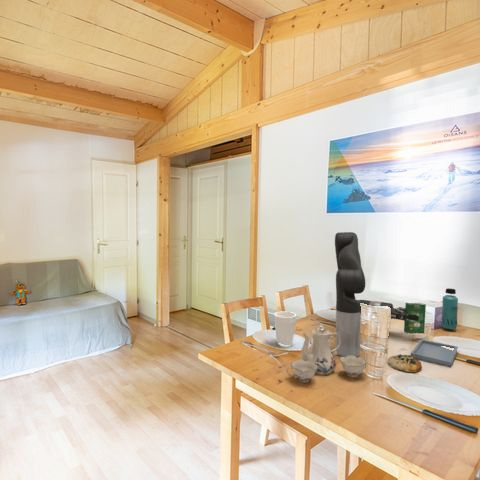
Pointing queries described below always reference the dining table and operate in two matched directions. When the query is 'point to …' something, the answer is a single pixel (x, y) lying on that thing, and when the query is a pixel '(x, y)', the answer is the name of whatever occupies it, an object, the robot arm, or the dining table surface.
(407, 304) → the coffee box
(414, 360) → the bread roll
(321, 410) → the dining table surface
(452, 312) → the beverage bottle
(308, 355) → the chinaware
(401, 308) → the robot arm
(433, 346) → the dish
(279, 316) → the foam cup
